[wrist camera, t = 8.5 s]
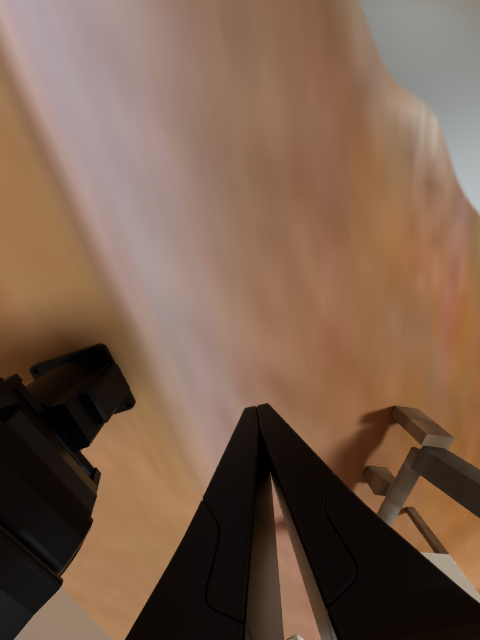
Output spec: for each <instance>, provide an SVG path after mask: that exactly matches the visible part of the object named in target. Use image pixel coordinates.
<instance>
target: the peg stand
mask: <svg viewBox="0 0 480 640" xmlns="http://www.w3.org/2000/svg"><path fill="white" fill-rule="evenodd" d="M391 416H392V417H393V418H394V419H395V420H396V421H397V422H398V423H399V424H400V425H401V426H402V427H403V428H404V429H405V430H406V431H407V432H408V433H409V434H410V435H411V436H412V437H413V438H414V439H415V440H416V441H417V442H419V443H420V444H421V445H424V446H431V447H439V448H446V449H449V447H450V445H451V444H452V442H453V440H454V437H453V436H452V435H450V434H449V433H448V432H446V431H445V430H444V429H443V428H441V427H440V426H439V425H438V424H436V423H435V422H434V421H433V420H431V419H430V418H429V417H428V416H426V415H425V414H424V413H423V412H421V411H420V410H419V409H412V408H406V407H400V406H395V407H394V409H393V411H392V414H391ZM363 477H364V479H365V480H366V482H367V483H368V485H369V487H370V488H371V490H372V491H373V493H374V495H382V496H386V495H387V493H388V491H389V489H390V488H391V486H392V484H393V482H394V480H395V477H394V476H393V475H392V473H391V472H390V471H389V469H388V468H382V467H373V466H368V468H367V470H366V472H365V474H364V476H363ZM405 511H406V513H407V514H408V516H409V517H410V518H411V520H412V521H413V523H414V524H415V525H416V527H417V528H418V530H419V531H420V532H421V534H422V535H423V537H424V538H425V539H426V541H427V542H428V544H429V545H430V547H431V548H432V549H433V551H434V552H435V553H436V554H449V553H448V552H447V551H446V549H445V548H444V547H443V545H442V544H441V543H440V541H439V540H438V539H437V537H436V536H435V535H434V533H433V532H432V531H431V529H430V528H429V527H428V525H427V524H426V523H425V521H424V520H423V519H422V517H421V516H420V515H419V514H418V512H417V511H416V510H415V508H411V507H407V508H406V510H405Z"/></svg>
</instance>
